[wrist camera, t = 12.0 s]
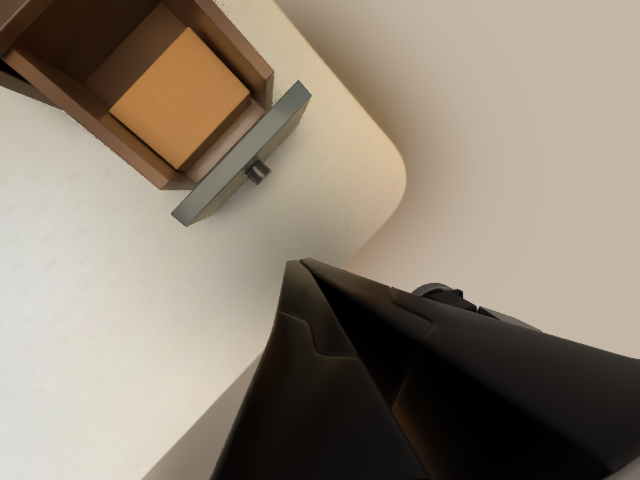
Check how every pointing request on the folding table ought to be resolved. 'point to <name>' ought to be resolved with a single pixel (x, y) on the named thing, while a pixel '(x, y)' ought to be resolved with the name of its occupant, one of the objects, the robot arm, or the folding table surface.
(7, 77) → the cabinet
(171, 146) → the block
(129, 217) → the folding table surface
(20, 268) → the folding table surface
